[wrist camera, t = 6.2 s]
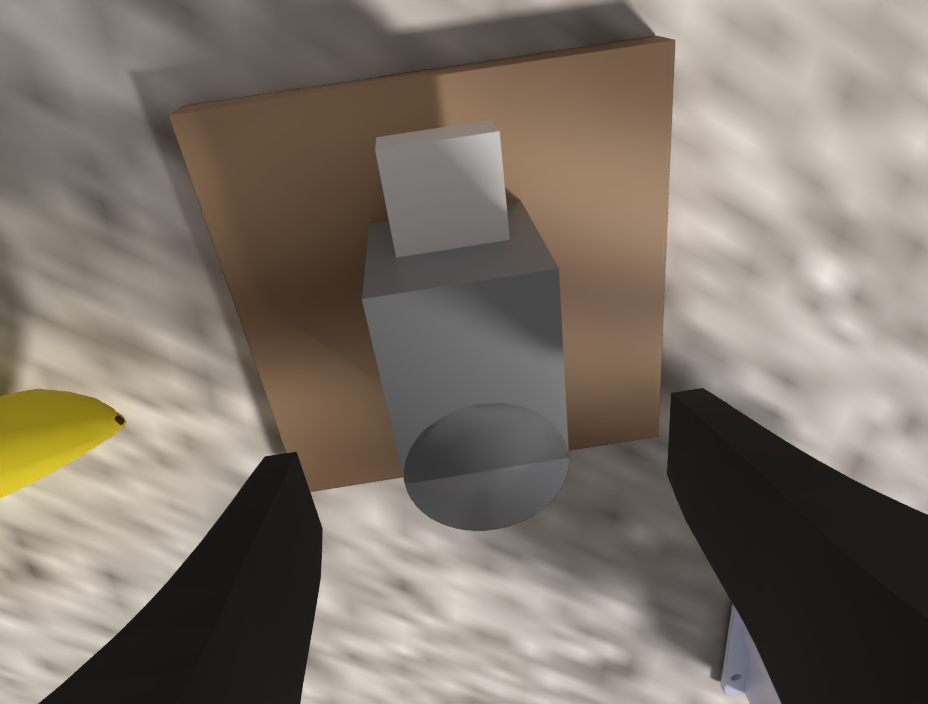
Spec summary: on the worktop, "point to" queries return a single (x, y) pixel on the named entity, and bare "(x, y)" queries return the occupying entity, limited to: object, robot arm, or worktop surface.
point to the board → (362, 202)
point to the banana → (49, 433)
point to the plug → (466, 331)
